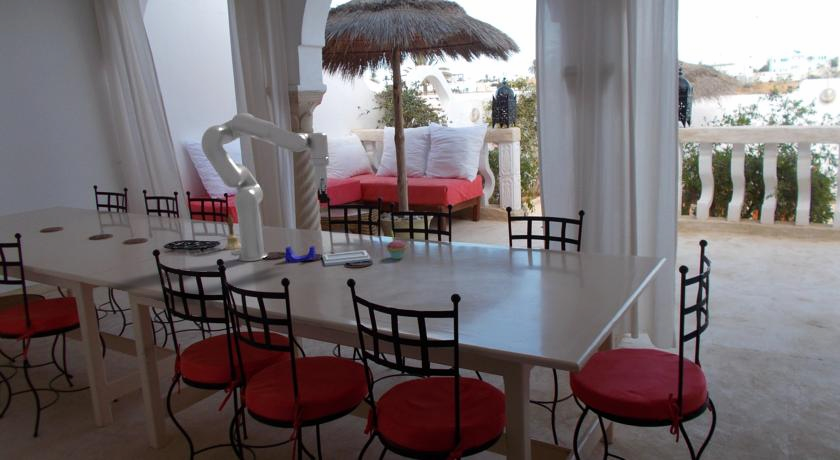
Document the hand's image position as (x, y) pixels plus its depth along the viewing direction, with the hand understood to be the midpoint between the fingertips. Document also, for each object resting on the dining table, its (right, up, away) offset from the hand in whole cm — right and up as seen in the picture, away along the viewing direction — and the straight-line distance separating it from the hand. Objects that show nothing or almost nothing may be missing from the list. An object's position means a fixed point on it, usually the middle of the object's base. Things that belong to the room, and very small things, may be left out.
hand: (322, 201), depth 278 cm
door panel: (+11, -25, -5) cm, 27 cm away
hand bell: (-47, -21, +28) cm, 59 cm away
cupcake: (+33, -24, -6) cm, 41 cm away
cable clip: (-9, -26, -3) cm, 28 cm away
